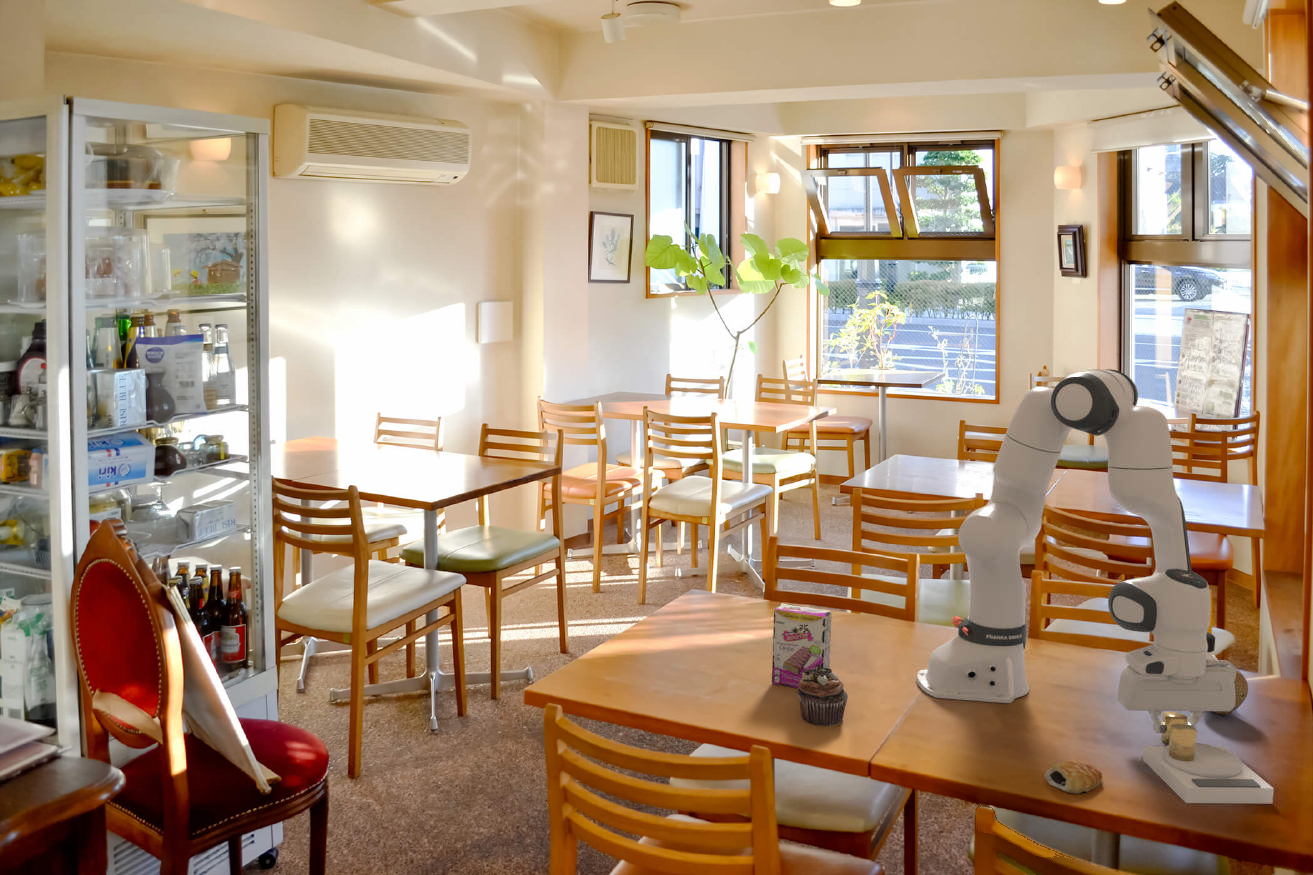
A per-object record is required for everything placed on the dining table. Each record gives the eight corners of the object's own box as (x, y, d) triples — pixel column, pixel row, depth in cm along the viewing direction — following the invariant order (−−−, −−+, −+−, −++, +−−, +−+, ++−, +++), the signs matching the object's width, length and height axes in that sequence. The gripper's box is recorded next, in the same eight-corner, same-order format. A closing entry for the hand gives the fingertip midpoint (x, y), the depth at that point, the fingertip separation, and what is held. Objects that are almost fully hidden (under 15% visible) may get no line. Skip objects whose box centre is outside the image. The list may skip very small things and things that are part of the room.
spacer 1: (1167, 746, 200) (1169, 719, 200) (1157, 737, 204) (1159, 711, 204) (1189, 746, 200) (1191, 720, 200) (1178, 737, 204) (1180, 711, 204)
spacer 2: (1198, 761, 186) (1201, 733, 185) (1175, 761, 186) (1177, 733, 185) (1187, 751, 190) (1189, 723, 189) (1164, 751, 190) (1166, 723, 189)
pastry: (1081, 771, 190) (1083, 750, 190) (1112, 787, 184) (1114, 766, 184) (1040, 781, 186) (1042, 760, 186) (1071, 798, 180) (1073, 776, 180)
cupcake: (835, 731, 206) (837, 680, 204) (788, 720, 211) (789, 670, 209) (855, 714, 214) (856, 665, 212) (809, 704, 219) (810, 656, 217)
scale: (1185, 802, 179) (1187, 781, 178) (1142, 760, 194) (1144, 740, 194) (1272, 803, 179) (1274, 782, 178) (1222, 760, 194) (1224, 741, 194)
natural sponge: (1222, 726, 209) (1226, 676, 208) (1183, 709, 217) (1187, 661, 216) (1255, 719, 213) (1260, 669, 211) (1216, 702, 221) (1220, 654, 220)
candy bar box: (770, 684, 229) (772, 608, 227) (778, 677, 234) (780, 602, 231) (823, 693, 224) (825, 616, 222) (829, 685, 229) (832, 609, 227)
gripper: (1227, 654, 203) (1221, 725, 205) (1116, 653, 203) (1111, 724, 205) (1245, 666, 197) (1239, 739, 199) (1131, 665, 197) (1126, 738, 199)
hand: (1173, 731), depth 202 cm, fingers closed on spacer 1, 4 cm apart
